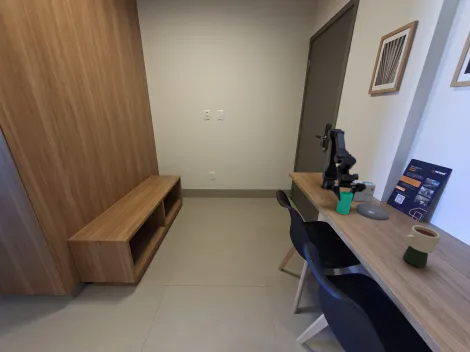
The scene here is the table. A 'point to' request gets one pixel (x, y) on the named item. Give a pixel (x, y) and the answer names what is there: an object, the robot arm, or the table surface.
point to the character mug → (420, 245)
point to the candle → (344, 202)
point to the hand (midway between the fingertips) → (345, 201)
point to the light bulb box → (364, 192)
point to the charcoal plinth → (372, 211)
